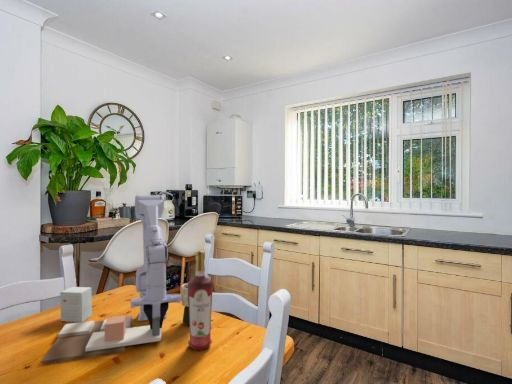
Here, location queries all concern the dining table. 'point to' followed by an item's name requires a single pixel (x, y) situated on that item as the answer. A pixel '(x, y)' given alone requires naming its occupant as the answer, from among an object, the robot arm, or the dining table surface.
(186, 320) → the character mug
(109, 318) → the block
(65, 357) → the board
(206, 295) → the liquor
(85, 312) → the small box
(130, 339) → the white tray
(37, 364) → the dining table surface
